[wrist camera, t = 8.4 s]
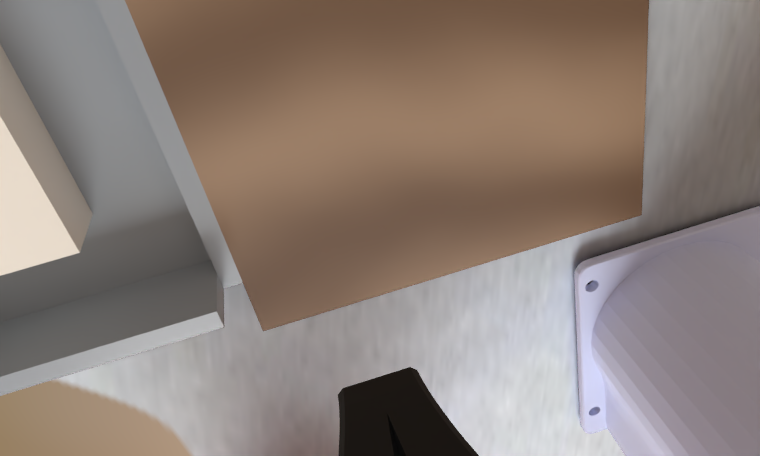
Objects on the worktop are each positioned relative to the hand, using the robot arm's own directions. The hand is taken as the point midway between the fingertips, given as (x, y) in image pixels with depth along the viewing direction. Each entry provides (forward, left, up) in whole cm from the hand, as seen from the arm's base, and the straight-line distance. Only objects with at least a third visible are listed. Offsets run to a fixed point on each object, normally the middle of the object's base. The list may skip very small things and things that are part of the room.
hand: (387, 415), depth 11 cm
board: (+4, -3, -9) cm, 11 cm away
